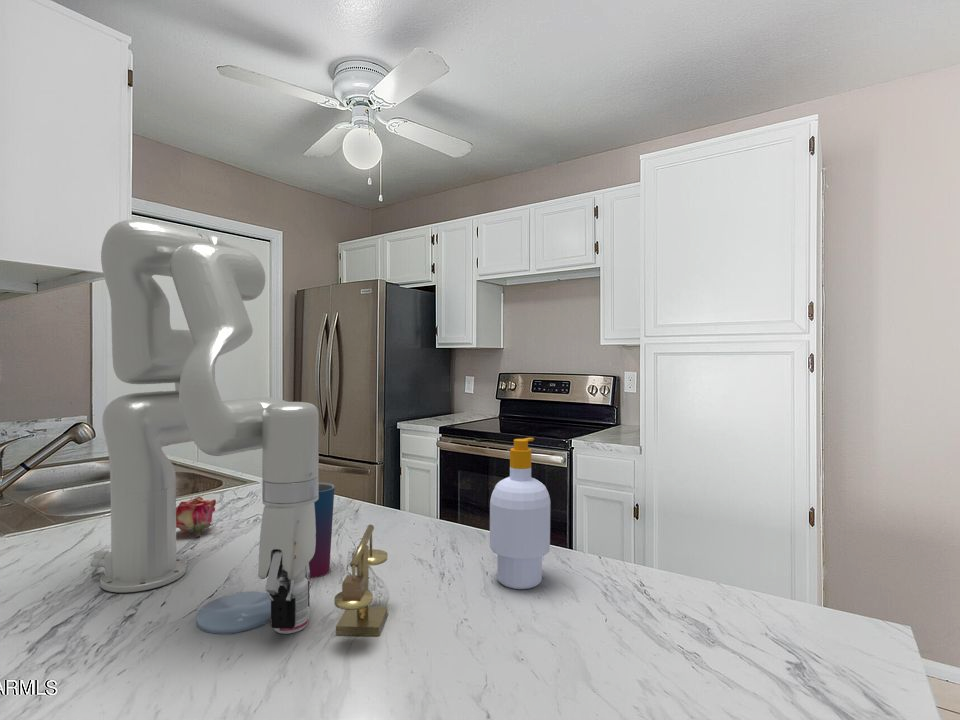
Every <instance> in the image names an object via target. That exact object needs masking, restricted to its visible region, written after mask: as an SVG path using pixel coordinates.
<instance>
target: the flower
mask: <svg viewBox="0 0 960 720" xmlns="http://www.w3.org/2000/svg"><path fill="white" fill-rule="evenodd" d="M216 504H217V500H216V498H214V499H211V500H209V499H204V498H203V497H201V496H198V497H196V498H191V499H189V500H187V501H181V502H179V504H178V505H177V506H176V529H179V530H180V531H181V532H182V534H183V533H184V534H190V533H191V534H193V532H195V535H196V536H195V537H196V538H198V539H199V538H201V532H204V531H206V530H207V528H208V529H209V528H210V527H211V526H213V525H214V524H215V523H217V522H218V521H219V520H221V518H219V519H218V520H216V521H215V522H213V521H212V520H213V513H215V512H216V507H215V506H216ZM212 522H213V523H212Z"/></svg>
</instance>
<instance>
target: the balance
mask: <svg viewBox="0 0 960 720" xmlns="http://www.w3.org/2000/svg"><path fill="white" fill-rule="evenodd" d="M374 530H375V526H374V525H373V524H369V525H367V527H366V529H365V532H364V534H363V536H362V538H361V540H360V542H359V545H358V546H357V547H356V551H355V553H354V554H353V557H352V559H351V561H350V563H349V565H350V567H351V574H349V575H346V576H345V578H344V579H343V580H342V582H341V583H342V585H341V589H342V590H341V591H339V593H336V595H334V601H333V603H334V606H335V607H336V608H338V609H341V610H344V611H343V614H342V615H341V616H340V618H339V620H338V622H337V623H336V625H335V635H336V636H362V637H364V636H365V637H366V636H367V637H379V636H380V635H381V632H382V629H383V627H384V625H385V623H386V620H387V617H388V615H389V609H388V608H389V607H388V606H370V605H371V604H372V602H373V600H374V599H373V593H372V591H370V590H369V588H370V587H369V574H370V573H369V567H372V566H379V565H381V564H384V563H385V562H387V560H388V552H387V551H385V550H383V549H375V548H374V549H373V533H374ZM368 544H369V545H368Z"/></svg>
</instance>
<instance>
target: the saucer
mask: <svg viewBox="0 0 960 720" xmlns="http://www.w3.org/2000/svg"><path fill="white" fill-rule="evenodd" d="M268 622H271V601H270V594H269V593H268V592H265V591H243V592H241V591H240V592H236V593H230V594H226V595H223V596H221V597H217V598H215V599H212V600H211V601H209V602H207V603H205V604H204V605H203V606H201V608H200V609H199V610H198V611H197V613H196V624H197V627H198V628H199V629H200V630H201V631H203V632H206V633H210V634H217V635H218V634H219V635H226V634H227V635H228V634H237V633H240V632H241V633H243V632H246V631H249V630H250V631H251V630H253V629H256V628H259V627H260V626H263V625H265V624H266V623H268Z"/></svg>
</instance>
